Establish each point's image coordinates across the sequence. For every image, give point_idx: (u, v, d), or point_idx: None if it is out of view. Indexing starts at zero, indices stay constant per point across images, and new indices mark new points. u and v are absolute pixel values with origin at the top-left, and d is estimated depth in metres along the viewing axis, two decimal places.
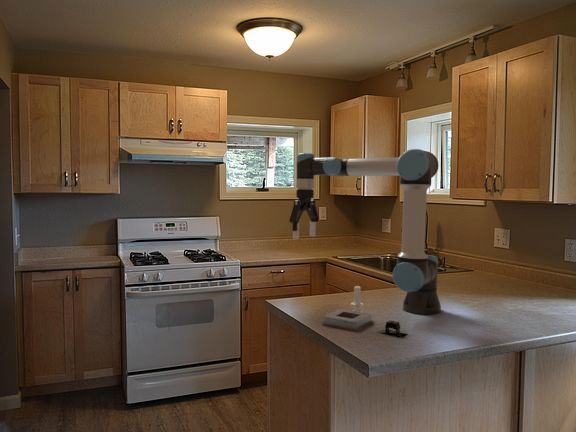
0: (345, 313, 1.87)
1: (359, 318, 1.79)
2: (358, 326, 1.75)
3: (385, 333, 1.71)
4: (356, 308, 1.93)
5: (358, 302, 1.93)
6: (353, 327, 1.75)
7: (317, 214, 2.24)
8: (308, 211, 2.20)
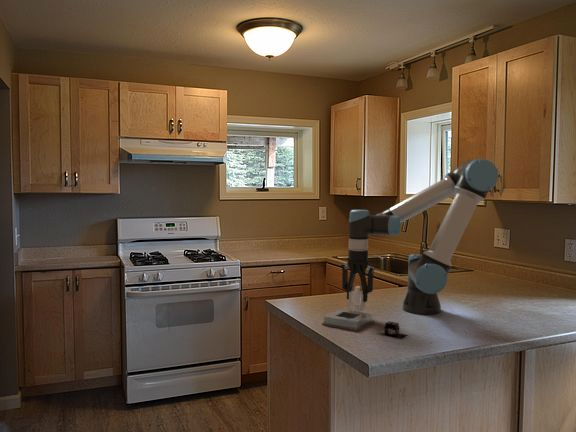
0: (345, 313, 1.87)
1: (359, 318, 1.79)
2: (358, 326, 1.75)
3: (384, 334, 1.70)
4: (356, 308, 1.93)
5: (358, 302, 1.93)
6: (353, 327, 1.75)
7: (369, 286, 1.89)
8: None
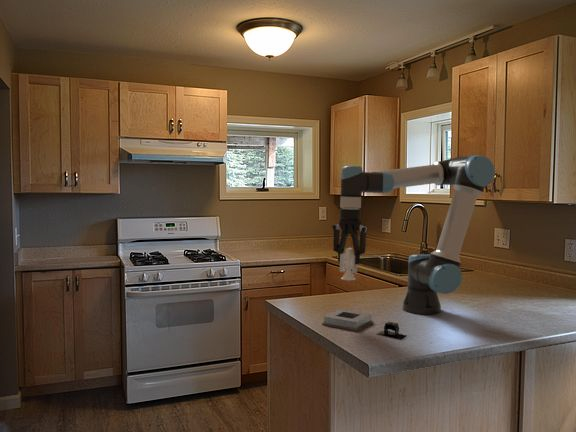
0: (345, 313, 1.87)
1: (359, 318, 1.79)
2: (358, 326, 1.75)
3: (384, 334, 1.69)
4: (348, 271, 1.82)
5: (350, 264, 1.81)
6: (353, 327, 1.75)
7: (361, 247, 1.78)
8: None
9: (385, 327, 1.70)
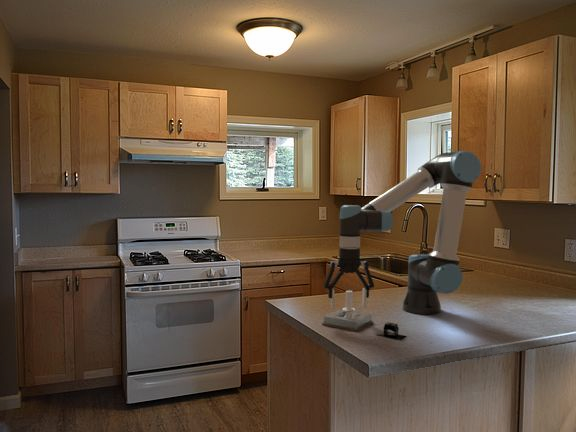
0: (345, 313, 1.87)
1: (359, 318, 1.79)
2: (358, 326, 1.75)
3: (383, 335, 1.68)
4: (349, 314, 1.82)
5: (351, 307, 1.82)
6: (353, 327, 1.75)
7: (371, 280, 1.82)
8: (357, 274, 1.83)
9: (384, 328, 1.69)
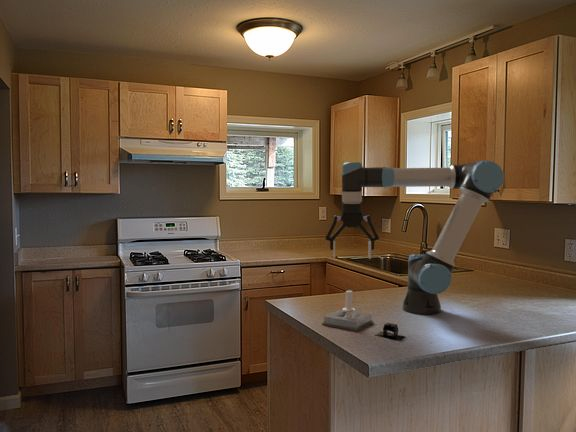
0: (345, 313, 1.87)
1: (359, 318, 1.79)
2: (358, 326, 1.75)
3: (383, 336, 1.68)
4: (349, 314, 1.82)
5: (351, 307, 1.82)
6: (353, 327, 1.75)
7: (375, 233, 1.88)
8: None
9: (384, 328, 1.68)
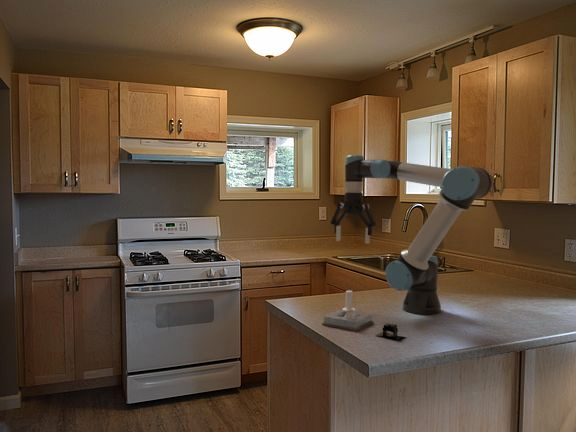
0: (345, 313, 1.87)
1: (359, 318, 1.79)
2: (358, 326, 1.75)
3: (382, 336, 1.67)
4: (349, 314, 1.82)
5: (351, 307, 1.82)
6: (353, 327, 1.75)
7: (371, 220, 2.05)
8: None
9: (383, 329, 1.68)
